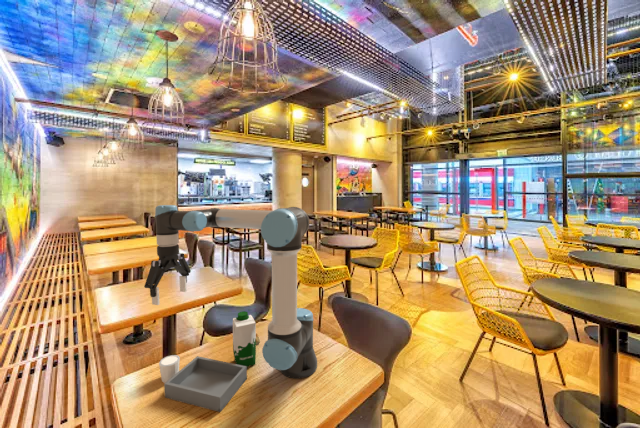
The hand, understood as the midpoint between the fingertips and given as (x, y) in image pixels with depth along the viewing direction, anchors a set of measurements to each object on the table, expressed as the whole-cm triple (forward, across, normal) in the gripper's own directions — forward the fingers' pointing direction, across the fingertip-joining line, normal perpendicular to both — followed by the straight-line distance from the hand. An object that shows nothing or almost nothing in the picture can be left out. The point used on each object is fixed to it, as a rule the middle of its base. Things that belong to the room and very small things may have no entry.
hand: (170, 297), depth 108 cm
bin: (+28, +7, +22) cm, 36 cm away
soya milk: (+28, -9, +27) cm, 40 cm away
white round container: (+28, +7, +5) cm, 29 cm away
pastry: (+28, -22, +22) cm, 42 cm away
